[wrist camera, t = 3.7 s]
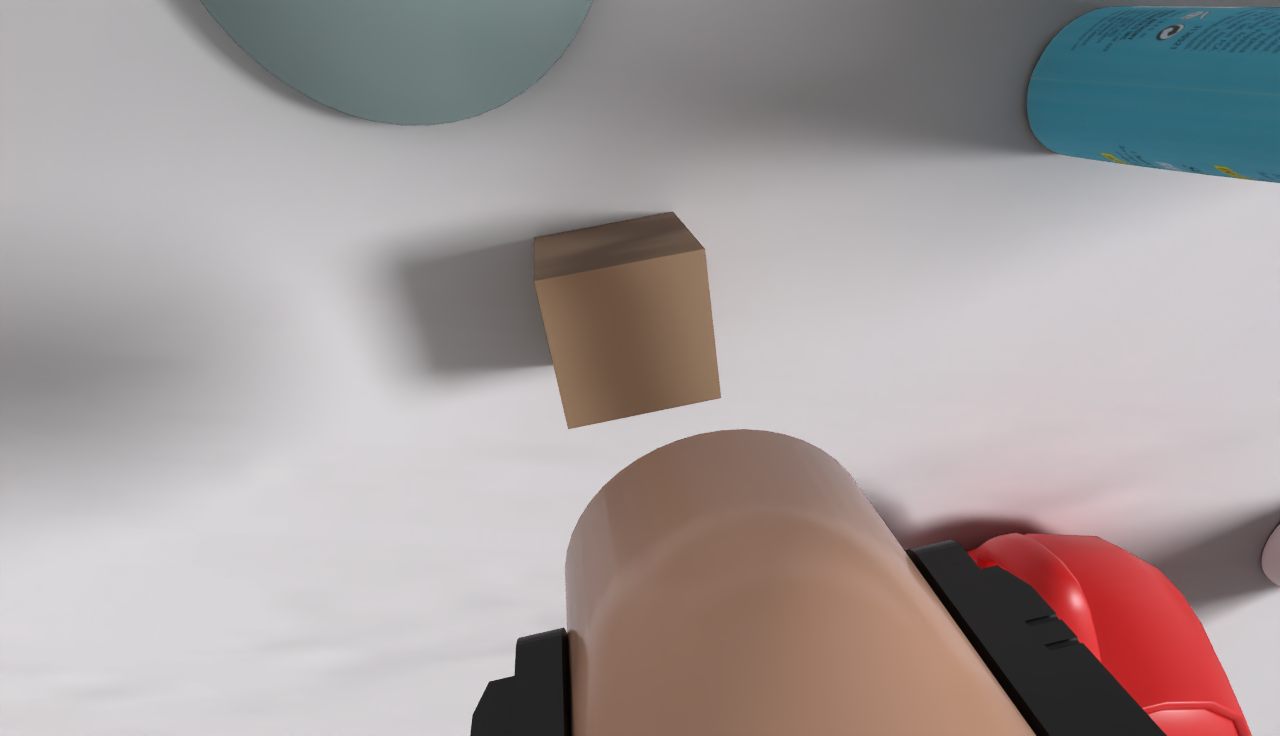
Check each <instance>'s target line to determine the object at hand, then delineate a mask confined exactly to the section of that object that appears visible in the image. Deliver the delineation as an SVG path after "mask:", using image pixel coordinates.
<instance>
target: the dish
mask: <svg viewBox="0 0 1280 736" xmlns="http://www.w3.org/2000/svg"><path fill="white" fill-rule="evenodd" d="M200 1H201V2H202V3H203V5H204V6H205V7H206V8H207V10H208V11H209V12H210V14H211V15H212V16H213V18H214V19H215V20H216V22H217V23H218V24H219V25H220V26H221V27H222V28H223V29H224V30H225V31H226V32H227V33H228V35H229V36H230V37H231V38H232V39H233V40H234V41H235V42H236V43H237V44H238V45H239V46H240V47H241V48H242V49H243V50H244V51H245V52H246V53H248V54H249V55H250V56H251V57H252V58H253V59H254V60H256V61H257V62H258V63H259V64H260V65H261V66H262V67H264V68H265V69H266V70H267V71H269V72H270V73H272V74H273V75H275V76H276V77H277V78H279V79H280V80H282V81H283V82H284V83H286V84H287V85H289V86H290V87H292V88H293V89H295V90H297V91H299V92H301V93H303V94H304V95H306V96H308V97H310V98H312V99H313V100H315V101H317V102H319V103H321V104H324V105H326V106H329V107H331V108H334V109H336V110H339V111H341V112H343V113H346V114H349V115H353V116H357V117H360V118H364V119H368V120H371V121H376V122H383V123H390V124H397V125H435V124H443V123H451V122H456V121H460V120H463V119H467V118H471V117H474V116H478V115H480V114H483V113H485V112H487V111H490V110H492V109H494V108H497V107H499V106H501V105H503V104H505V103H506V102H508V101H510V100H511V99H513V98H514V97H516V96H518V95H519V94H521V93H523V92H524V91H525V90H526V89H528V88H529V87H530V86H531V85H532V84H534V83H535V82H536V81H537V80H538V79H540V78H541V77H542V76H543V75H544V74H545V73H546V72H547V71H548V70H549V69H550V68H551V67H552V65H553V64H554V63H555V62H556V61H557V60H558V59H559V58H560V57H561V55H562V54H563V53H564V51H565V50H566V48H567V47H568V45H569V44H570V42H571V41H572V40H573V38H574V37H575V35H576V34H577V32H578V30H579V28H580V26H581V24H582V22H583V20H584V18H585V16H586V14H587V12H588V10H589V9H590V6H591V3H592V1H593V0H200Z"/></svg>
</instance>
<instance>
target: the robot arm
mask: <svg viewBox="0 0 1280 736" xmlns="http://www.w3.org/2000/svg"><path fill="white" fill-rule="evenodd" d="M905 552H906V553H907V555H908V556H909V558H910V559H911V560H912V562H913V563H914V565H915V566H916V567H917V569H918V570H919V572H920V573H921V574H922V576H923V577H924V579H925V580H926V582H927V583H928V584H929V586H930V587H931V589H932V590H933V591H934V593H935V594H936V596H937V597H938V598H939V600H940V601H941V603H942V604H943V605H944V607H945V608H946V610H947V611H948V612H949V614H950V615H951V617H952V618H953V619H954V621H955V622H956V624H957V625H958V626H959V628H960V629H961V631H962V632H963V633H964V635H965V636H966V638H967V639H968V640H969V642H970V643H971V645H972V646H973V647H974V649H975V650H976V652H977V653H978V655H979V656H980V657H981V659H982V660H983V662H984V663H985V664H986V666H987V667H988V669H989V670H990V671H991V673H992V674H993V676H994V677H995V678H996V680H997V681H998V683H999V684H1000V685H1001V687H1002V688H1003V690H1004V691H1005V692H1006V694H1007V695H1008V697H1009V698H1010V699H1011V701H1012V702H1013V704H1014V705H1015V706H1016V708H1017V709H1018V711H1019V712H1020V713H1021V715H1022V716H1023V718H1024V719H1025V720H1026V722H1027V723H1028V725H1029V726H1030V728H1031V729H1032V730H1033V732H1034V733H1035V735H1036V736H1167V735H1166V734H1165V733H1164V732H1163V731H1162V730H1161V729H1160V727H1159V726H1158V725H1157V724H1156V723H1155V722H1154V721H1153V720H1152V719H1151V718H1150V716H1149V715H1148V714H1147V713H1146V712H1145V711H1144V710H1143V709H1142V708H1141V706H1140V705H1139V704H1138V703H1137V702H1136V701H1135V700H1134V699H1133V698H1132V697H1131V695H1130V694H1129V693H1128V692H1127V691H1126V690H1125V689H1124V688H1123V687H1122V685H1121V684H1120V683H1119V682H1118V681H1117V680H1116V679H1115V678H1114V677H1113V675H1112V674H1111V673H1110V672H1109V671H1108V670H1107V669H1106V668H1105V667H1104V666H1103V664H1102V663H1101V662H1100V661H1099V660H1098V659H1097V658H1096V657H1095V656H1094V654H1093V653H1092V652H1091V651H1090V650H1089V649H1088V648H1087V647H1086V646H1085V645H1084V643H1080V642H1079V641H1078V638H1077V636H1076V635H1075V633H1074V632H1073V631H1072V630H1071V629H1070V628H1069V627H1068V626H1067V625H1066V624H1065V622H1064V621H1063V620H1062V619H1060V620H1059V619H1058V617H1057V615H1056V612H1055V611H1054V610H1053V609H1052V608H1051V607H1050V606H1049V605H1048V604H1047V603H1046V601H1045V600H1044V599H1043V598H1042V597H1041V596H1040V595H1039V594H1038V593H1037V591H1036V590H1035V589H1034V588H1033V587H1032V586H1031V585H1029V584H1028V583H1026V582H1024V581H1023V580H1021V579H1019V578H1018V577H1016V576H1014V575H1013V574H1011V573H1010V572H1008V571H1006V570H1005V569H1003V568H1001V567H1000V566H998V565H995V566H991V567H987V568H982V569H980V568H979V566H978V565H977V564H976V563H975V562H974V560H973V559H972V558H971V557H970V556H969V554H968V553H967V552H966V551H965V550H964V548H963V547H962V546H961V545H960V544H959V543H957V542H956V541H954V540H947V541H943V542H939V543H934V544H930V545H926V546H921V547H917V548H913V549H908V550H906V551H905ZM470 736H571V718H570V690H569V663H568V636H567V632H566V630H565V628H560V629H556V630H551V631H547V632H543V633H538V634H534V635H530V636H525V637H521V638H519V639H518V640H517V644H516V659H515V676H512V677H507V678H503V679H499V680H495V681H490V682H489V683H488V685H487V687H486V689H485V691H484V693H483V695H482V697H481V699H480V701H479V703H478V705H477V707H476V709H475V711H474V713H473V717H472V726H471V735H470Z"/></svg>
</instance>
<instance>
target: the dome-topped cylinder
mask: <svg viewBox="0 0 1280 736" xmlns="http://www.w3.org/2000/svg"><path fill="white" fill-rule="evenodd" d="M565 582H566V609H567V636H568V663H569V690H570V718H571V736H1036V735H1035V733H1034V732H1033V730H1032V729H1031V728H1030V726H1029V725H1028V723H1027V722H1026V720H1025V719H1024V718H1023V716H1022V715H1021V713H1020V712H1019V711H1018V709H1017V708H1016V706H1015V705H1014V704H1013V702H1012V701H1011V699H1010V698H1009V697H1008V695H1007V694H1006V692H1005V691H1004V690H1003V688H1002V687H1001V685H1000V684H999V683H998V681H997V680H996V678H995V677H994V676H993V674H992V673H991V671H990V670H989V669H988V667H987V666H986V664H985V663H984V662H983V660H982V659H981V657H980V656H979V655H978V653H977V652H976V650H975V649H974V647H973V646H972V645H971V643H970V642H969V640H968V639H967V638H966V636H965V635H964V633H963V632H962V631H961V629H960V628H959V626H958V625H957V624H956V622H955V621H954V619H953V618H952V617H951V615H950V614H949V612H948V611H947V610H946V608H945V607H944V605H943V604H942V603H941V601H940V600H939V598H938V597H937V596H936V594H935V593H934V591H933V590H932V589H931V587H930V586H929V584H928V583H927V582H926V580H925V579H924V577H923V576H922V574H921V573H920V572H919V570H918V569H917V567H916V566H915V565H914V563H913V562H912V560H911V559H910V558H909V556H908V555H907V553H906V552H905V551H904V549H903V548H902V546H901V545H900V544H899V542H898V541H897V539H896V538H895V537H894V535H893V534H892V532H891V531H890V530H889V528H888V527H887V525H886V524H885V523H884V521H883V520H882V518H881V517H880V516H879V514H878V513H877V511H876V510H875V509H874V507H873V506H872V504H871V503H870V501H869V500H868V499H867V497H866V496H865V494H864V493H863V492H862V490H861V489H860V487H859V486H858V485H857V483H856V482H855V481H854V479H853V478H852V476H851V475H850V474H849V472H848V471H847V470H846V469H845V468H844V467H843V466H842V465H841V464H840V463H839V462H838V461H837V460H836V459H834V458H833V457H831V456H830V455H829V454H827V453H826V452H824V451H823V450H821V449H820V448H818V447H816V446H814V445H811V444H809V443H807V442H805V441H803V440H800V439H797V438H794V437H791V436H788V435H785V434H780V433H774V432H769V431H761V430H746V429H741V430H722V431H716V432H710V433H704V434H698V435H695V436H691V437H688V438H684V439H681V440H677V441H675V442H673V443H670V444H668V445H665V446H663V447H660V448H658V449H656V450H654V451H652V452H650V453H648V454H646V455H645V456H643V457H641V458H639V459H637V460H636V461H634V462H633V463H632V464H630V465H629V466H627V467H626V468H624V469H623V470H622V471H620V472H619V473H618V474H617V475H615V476H614V477H613V478H612V479H611V480H610V481H609V482H608V483H607V484H605V485H604V486H603V487H602V489H601V490H600V491H599V492H598V493H597V494H596V495H595V497H594V498H593V499H592V500H591V501H590V503H589V504H588V506H587V507H586V509H585V510H584V512H583V513H582V515H581V516H580V518H579V520H578V522H577V524H576V527H575V529H574V531H573V533H572V536H571V539H570V542H569V546H568V549H567V555H566V563H565Z"/></svg>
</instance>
